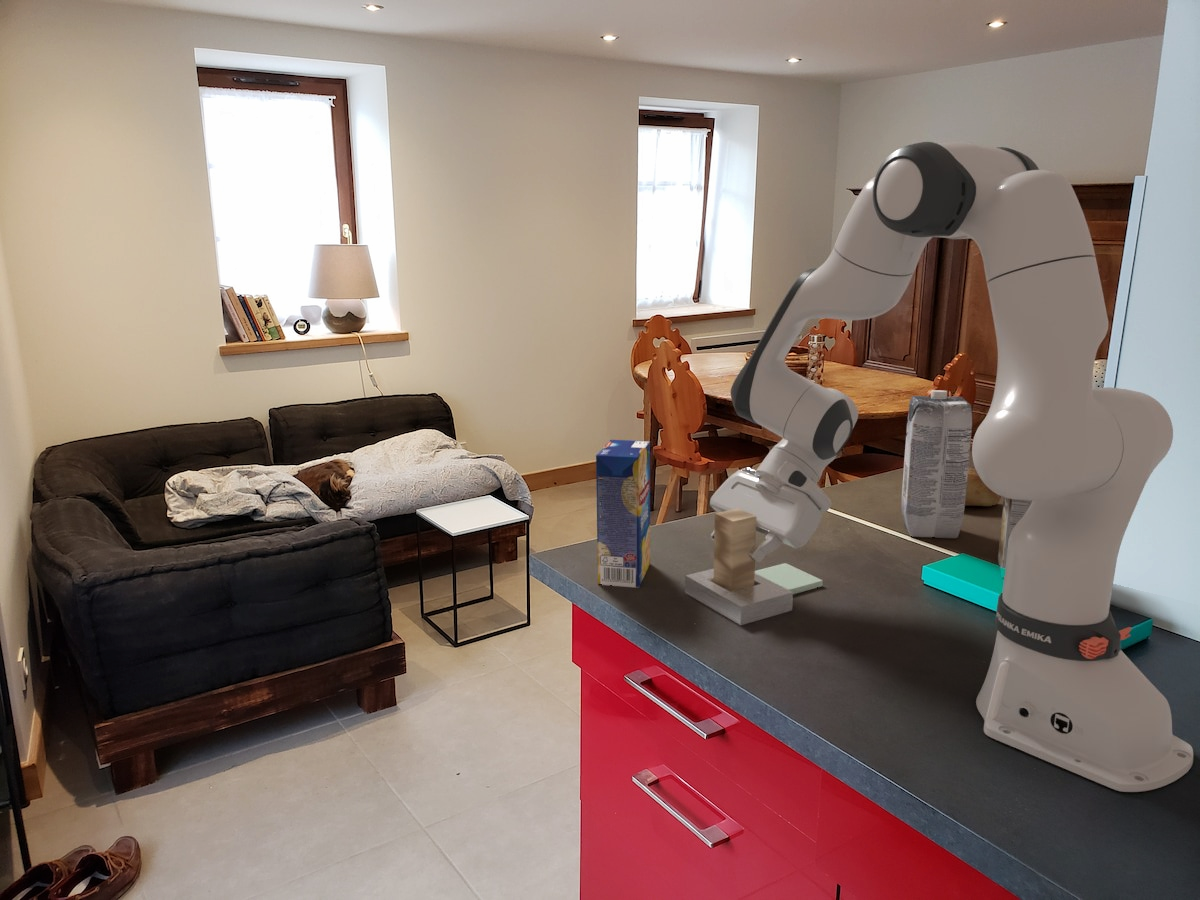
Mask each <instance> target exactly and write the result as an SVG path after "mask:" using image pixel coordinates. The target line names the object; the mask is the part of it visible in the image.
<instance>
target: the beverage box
mask: <svg viewBox="0 0 1200 900" xmlns="http://www.w3.org/2000/svg"><path fill="white" fill-rule="evenodd" d="M595 460H596V461H595V468H596V470H595V471H596V473H595V475H596V476H595V477H596V478H595V479H596V533H597V534H596V537H597V540H596V542H597V545H596V546H597V550H596V551H597V585H598V584H602V585H601V586H610V585H612V586H613V587H622V588H623V587H625V588H640V586H641V583H642V581H643V580H644V578H645V575H646V574H647V571H648V570H649V567H650V565H651V441H649V440H633V439H632V440H631V439H630V440H627V439H624V440H623V439H610V440H608V442H607V443H606V444H605V445H604V446H603V447H602V449H600V450H599V452H597V454H596V455H595Z"/></svg>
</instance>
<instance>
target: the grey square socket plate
mask: <svg viewBox="0 0 1200 900" xmlns="http://www.w3.org/2000/svg"><path fill="white" fill-rule="evenodd" d="M684 580H685V581H684V582H685V583H684V584H685V585H684V587H685V589H684V590H685V591H684V593H685V594H686V595H688V596H690V597H691V598H693V599H695V600H696V601H698V602H700V603H701V604H703V605H704V606H706V607H708V608H710V609H711V610H713V611H715V612H716V613H718V614H719V615H721V616H724V617H726V618H727V619H729V620H731V621H732V622H734V623H735V624H737V625H739V626H743V625H747V624H750V623H753V622H757V621H760V620H763V619H768V618H770V617H774V616H778V615H781V614H784V613H788V612H792V611H793V602H794V601H793V600H794V598H793V596H794V594H793V592H792V591H790V590H788V589H786V588H784V587H782V586H780V585H778V584H776V583H774V582H772V581H770V580H768V579H766V578H764V577H762V576H760V575H758V574H756V573H755V578H754V586H751V587H748V588H744V589H740V590H736V591H733V592H730V591H728V590H726V589H724V588H722V587H720V586H719V585H717V584H715V583H713V582H714V568H709V569H706V570H702V571H697V572H694V573H689V574H686V575H685V577H684Z"/></svg>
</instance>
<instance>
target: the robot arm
mask: <svg viewBox="0 0 1200 900" xmlns="http://www.w3.org/2000/svg"><path fill="white" fill-rule="evenodd" d="M875 174H876V175H875V176H874V177H872V178H871V179H869V180H868V181H867V182H866V183H865V184H864V186H863V187H862V188H861V191H860V192H859V194H858V195H857V197H856V198H855V200H854V202H853V204H852V206H851V208H850V210H849V211H848V213H847V216H846V217H845V219H844V221H843V224H842V227H841V229H840V231H839V233H838V236H837V238H836V241H835V243H834V246H833V247H832V250H831V252H830V254H829V255H828V256H827V257H828V258H827V259H826V260H825V261H824V262H823V263H822V264H821V265H820V266H819V267H817V268H809V269H807V270H805V271H804V272H803V273H801V274H800V276H799V277H798V278H797V279H796V280H795V282H793V284H792V286H790V288H789V290H788V291H787V293H786V295H785V296H784V298H783V299H782V301H781V302H780V305H779V306H778V308H777V310H776V311H775V313H774V315H773V317H772V318H771V320H770V322H769V323H768V325H767V327H766V329H765V330H764V333H763V334H762V336H761V338H760V339H759V341H758V343H757V345H756V347H755V349H754V350H753V352H752V354H751V355H750V357H748V360H747V361H746V362H745V364H744V365H743V367H742V368H741V370H740V371H739V373H738V375H737V376H736V378H735V379H734V381H733V383H732V385H731V388H730V398H731V402H732V405H733V408H734V411H735V413H736V414H737V416H738V417H740V418H743V419H745V420H747V421H749V422H751V423H753V424H755V425H758V426H761V427H763V428H765V429H766V430H767V431H769V432H772V433H773V434H775V435H777V436H778V437H781V438H782V439H780V441H779V442H778V443H777V444H775V445H774V446H773V447H772V449H770V451H769V452H768V454H767V455H766V456H765V458H764V459H763V460H762V461H761V463H760V464H759V466H758V467H757V469H754V468H752V467H749V466H746V467H744V468H741V469H738V470H736V471H735V472H734V473H732V474H731V475H730V476H729V477H728V478H727V479H725V481H724V482H723V483H722V484H721V485H720V486H719V487H718V488H717V490H716V491H715V492H714V493H713V495H712V496H711V497H710V501H709V506H710V507H711V508H712V509H713V510H714V511H715V513H719V512H724V511H729V510H733V509H740V510H743V511H745V512H747V513H750V514H752V515H755V516H756V522H755V525H756V533H760V534H762V535H764V537H765V540H764V541H763V542H762V543H760V544H759V545H757V546H753V547H752V548H751V551H749V553H748V556H749V557H750V558H751V559H752V560H754V561H755V563H761V562H762V561H763V560H764V558H765V556H766V555H768V554H770V553H771V552H774V551H776V550H778V549H779V547H780V546H781V544H785V545H786V546H788V547H791V548H793V549H799V548H801V547H803V546H805V545H806V544H807V543H808V542H809V540H810V539H811V538H812V536H813V534H814V533H815V532H816V530H817V529H818V527H819V525H820V524H821V522H822V521H823V520H822V519H823V513H826V512H828V511H829V510H830V508H831V506H832V505H833V502H832V501H831V499H830V498H829V497H828V495H827V494H826V493H825V491H823V489H822V488H821V487H820V486H819V484H818V482H819V481H820V480H821V477H822V474H823V471H824V470H825V469H826V467H827V466H828V465H829V464H831V462H833V461H834V460H835V459H836V457H837V456H838V455H839V453H840V452H841V451H842V450H843V448H844V446H845V445H846V444H847V442H849V439H850V437H851V435H852V433H853V430H854V427H855V425H856V423H857V421H858V417H859V409H858V407H857V405H856V404H855V402H854V401H853V399H851V398H850V397H849V395H847V394H846V393H844V392H843V391H840V390H838V389H836V388H832V387H831V388H830V387H827V388H826V387H825V386H822V385H820V384H819V383H816V382H813V381H812V380H810V379H808V378H807V377H804V376H803V375H801V374H799V373H797V372H796V371H794V370H792V369H790V368H789V367H788V365H787V363H786V357H787V356H788V354H789V352H790V350H791V348H792V347H793V346H794V343H795V342H796V340H797V338H798V337H799V335H800V334H801V332H802V330H803V328H804V326H805V325H806V323H807V322H808V321H809V320H812V319H832V320H840V321H841V320H842V321H861V320H862V321H863V320H869V319H874V318H877V317H879V316H881V315H884V314H886V313H888V312H889V311H890V310H892V309H893V308H895V306H897V304H898V303H899V302H900V300H901V299H902V297H903V295H904V294H905V292H906V290H907V288H908V287H909V285H910V282H911V281H912V278H913V275H914V273H915V271H916V269H917V266H918V263H919V261H920V259H921V255H922V253H923V251H924V249H925V247H926V246H927V244H928V243H929V241H931V239H932V238H942V239H943V238H945V239H949V240H962V239H963V240H967V239H970V240H973V241H974V243H975V244H976V245H977V247H978V248H979V249H978V250H979V251H980V255H981V258H982V262H983V269H984V275H985V280H986V281H985V282H986V286H987V292H988V297H989V304H990V309H991V312H992V313H991V314H992V319H993V325H994V331H995V338H996V345H997V346H996V348H997V365H996V366H997V368H996V378H995V383H994V384H995V385H994V391H993V395H992V399H991V400H992V401H991V404H990V407H989V410H988V411H987V414H986V416H985V418H984V419H983V420H982V422H981V423H980V424H979V426H978V427H977V429H976V430H975V431H976V432H975V434H974V436H973V440H972V444H971V445H972V446H971V447H972V448H971V455H972V462H973V466H974V469H976V471H977V473H978V475H979V477H980V478H981V480H982V481H983V483H984V484H985V485H986V486H987V487H988V488H989V489H990V490H992V491H993V492H995V493H996V494H998V495H1000V496H1001V498H1002V497H1003V498H1004V497H1005V498H1009V499H1019V500H1033V501H1032V503H1031V505H1030V507H1029V508H1028V510H1027V511H1026V513H1025V514H1024V516H1023V517H1022V518H1021V519H1020V520H1019V521H1018V523H1017V524H1016V525H1015V526H1014V528H1013V530H1012V531H1011V534H1010V536H1009V539H1008V547H1007V556H1006V566H1005V575H1004V578H1003V586H1002V592H1001V593H1000V594H999V595H998V598H997V605H996V606H997V607H996V612H995V620H994V625H995V631H996V632H995V633H996V636H995V637H996V638H995V641H994V642H995V644H994V648H993V652H992V657H991V659H990V660H991V661H990V663H989V667H988V670H987V673H986V677H985V679H984V682H983V684H982V686H981V688H980V691H978V695H977V697H976V699H975V700H976V701H975V703H976V704H975V706H976V708H977V710H978V712H979V714H980V715H981V717H982V719H983V721H984V722H983V733H984V734H985V735H986V736H987V737H989V738H991V739H994V740H995V741H998V742H1000V743H1003V744H1005V745H1008V746H1009V747H1013V748H1014V749H1015V748H1016V749H1018V750H1020V751H1022V752H1024V753H1026V754H1029V755H1031V756H1034V757H1036V758H1038V759H1041V760H1042V761H1045V762H1048V763H1050V764H1052V765H1054V766H1057V767H1060V768H1062V769H1065V770H1067V771H1069V772H1071V773H1074V774H1076V775H1079V776H1081V777H1083V778H1086V779H1088V780H1091V781H1093V782H1095V783H1097V784H1100V785H1102V786H1105V787H1107V788H1110V789H1112V790H1114V791H1118V792H1122V793H1124V792H1125V793H1139V792H1147V791H1152V790H1156V789H1159V788H1162V787H1165V786H1167V785H1169V784H1172V783H1174V782H1176V781H1177V780H1178V779H1180V778H1182V777H1183V776H1184V775H1185V774H1187V773H1189V770H1190V769H1191V768H1192V767H1193V764H1194V750H1193V746H1191V744H1189V743H1188V742H1186V741H1185V740H1183V739H1182V738H1179V737H1178V736H1176V735H1174V734H1173V721H1172V719H1173V718H1172V717H1173V716H1172V713H1171V712H1172V711H1171V707H1170V704H1169V701H1168V700H1167V698H1166V697H1165V695H1163V693H1161V692H1160V690H1159V689H1157V687H1156V686H1155V685H1153V683H1152V682H1151V681H1150V680H1149V679H1148V678H1147V676H1145V675H1144V673H1143V672H1142V671H1141V670H1140V669H1139V668H1138V667H1137V665H1135V664H1134V663H1133V661H1131V659H1130V658H1129V657H1128V656H1127V655H1126V654H1125V653H1124V652H1123V650H1121V649H1122V644H1121V641H1123V640H1126V639H1127V638H1130V637H1131V634H1130V632H1131V631H1132V627H1131V626H1128V627H1125V628H1123V629H1120V630H1118V628H1117V625H1116V624H1115V620H1114V617H1113V615H1112V612H1111V611H1110V607H1111V600H1112V595H1113V594H1112V593H1113V587H1114V579H1115V573H1116V567H1117V562H1118V556H1119V553H1120V548H1121V545H1122V542H1123V539H1124V536H1125V533H1126V530H1127V528H1128V526H1129V524H1130V522H1131V518H1132V516H1133V515H1134V512H1135V509H1136V507H1137V505H1138V502H1139V500H1140V497H1141V496H1142V493H1143V491H1144V488H1145V486H1146V483H1148V480H1149V478H1150V477H1151V475H1152V474H1153V472H1154V470H1155V469H1156V468H1157V466H1158V465H1159V464H1160V463H1161V462H1162V461H1163V460H1164V458H1165V457H1166V456H1167V455H1168V454H1169V451H1170V450H1171V447H1172V444H1173V439H1174V427H1173V422H1172V419H1171V417H1170V415H1169V413H1168V411H1167V410H1166V408H1165V407H1164V406H1163V405H1162V404H1161V403H1160V402H1159V401H1158V400H1156V398H1154V397H1153V396H1151V395H1149V394H1146V393H1144V392H1140V391H1136V390H1132V389H1128V388H1127V389H1125V388H1121V387H1120V388H1118V387H1111V386H1110V387H1099V388H1093V378H1094V368H1095V360H1096V356H1097V352H1098V350H1099V348H1100V345H1101V343H1102V342H1103V341H1104V339H1105V338H1106V336H1107V334H1108V330H1109V318H1108V313H1107V308H1106V303H1105V298H1104V292H1103V287H1102V281H1101V278H1100V272H1099V268H1098V262H1097V258H1096V253H1095V247H1094V244H1093V240H1092V236H1091V233H1090V228H1089V226H1088V223H1087V220H1086V217H1085V213H1084V211H1083V209H1082V206H1081V203H1080V202H1079V199H1078V197H1077V195H1076V192H1075V190H1074V188H1073V185H1072V184H1071V182H1070V181H1069V180H1068V178H1067V177H1065V175H1062V174H1060V172H1056V171H1052V170H1046V169H1040V168H1039V167H1038V165H1037V164H1036V163H1035V162H1034V161H1033V159H1031V157H1029V156H1028V155H1026V154H1023V153H1022V152H1020V151H1018V150H1015V149H1013V148H1009V147H1005V146H1000V147H999V146H998V147H994V146H989V145H984V144H977V143H973V142H970V141H969V142H968V141H943V142H932V141H921V142H917V143H913V144H912V143H911V144H909V145H906V146H903V147H900V148H898V149H896V150H894V151H893V152H891V153H890V154H889V155H888V156H887V157H886V158H885V159H884V160H883V162H882V163H881V165H880V166H879V168H878V170H877V172H876V173H875ZM714 530H715V528H714V529H713V531H712V532H711V534H710V535H709V536H710V539H711V540H713V542H714Z"/></svg>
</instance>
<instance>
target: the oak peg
mask: <svg viewBox="0 0 1200 900" xmlns="http://www.w3.org/2000/svg"><path fill="white" fill-rule="evenodd" d="M755 522H756V516H755V515H752V514H750V513H747V512H745V511H743V510H740V509H733V510H729V511H724V512H719V513H717V512H715V513H714V529H715V530H714V529H713V531H714V541H713V544H714V545H713V569H714V582H713V583H715V584H717V585H719V586H720V587H722V588H724V589H726V590H728V591H730V592H733V591H736V590H740V589H744V588H748V587H751V586H754V578H755V571H756V561H754V560H752V559H751V558H750V557H749V556H748V553H749V551H751V548H752V547H753V546H756V543H757V542H756V541H757V531H756V525H755ZM756 547H757V546H756Z"/></svg>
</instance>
